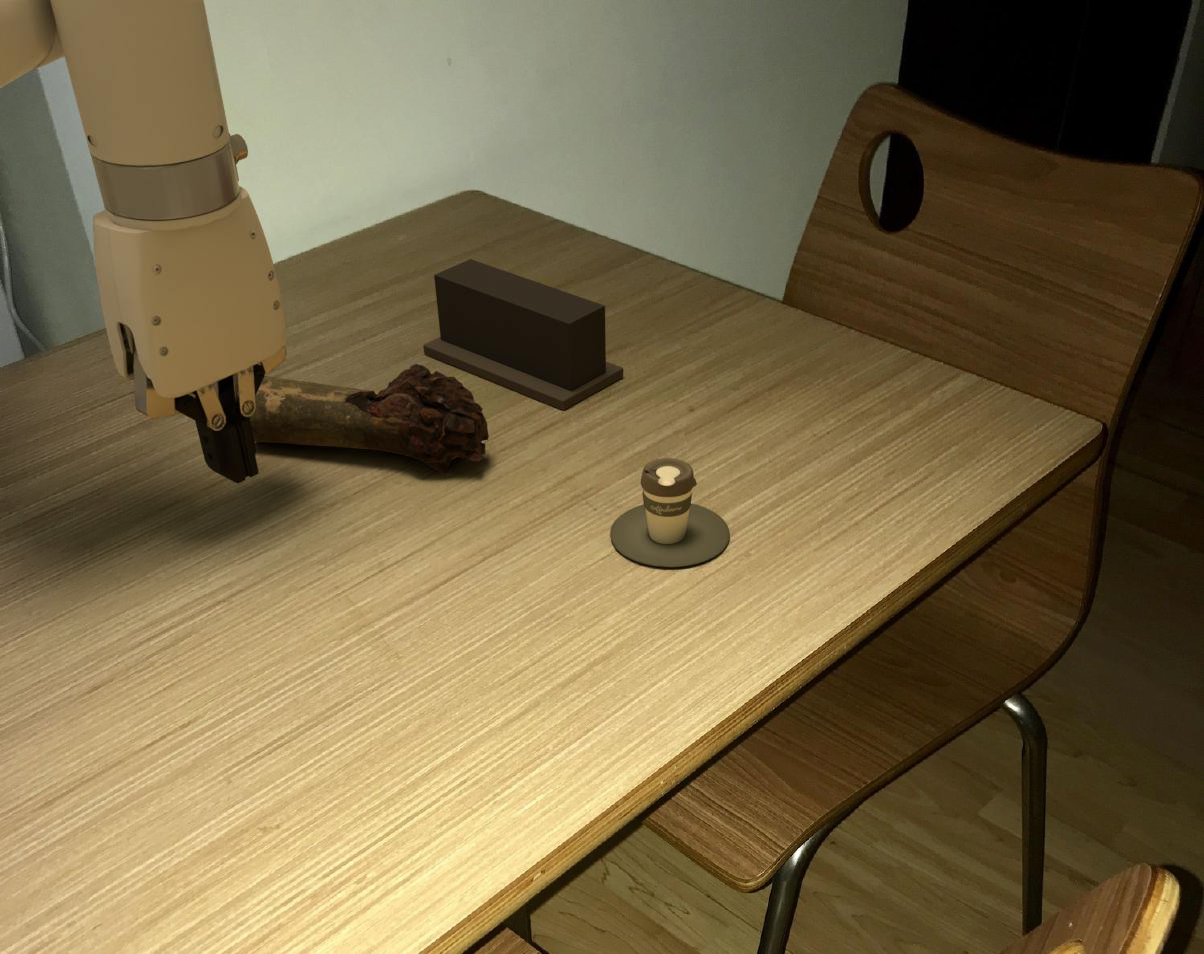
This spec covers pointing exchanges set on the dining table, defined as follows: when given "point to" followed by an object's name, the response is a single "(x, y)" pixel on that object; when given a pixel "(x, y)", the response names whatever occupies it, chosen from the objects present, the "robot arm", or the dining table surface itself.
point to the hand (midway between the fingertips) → (234, 472)
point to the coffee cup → (669, 521)
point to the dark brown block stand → (521, 334)
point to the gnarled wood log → (376, 417)
